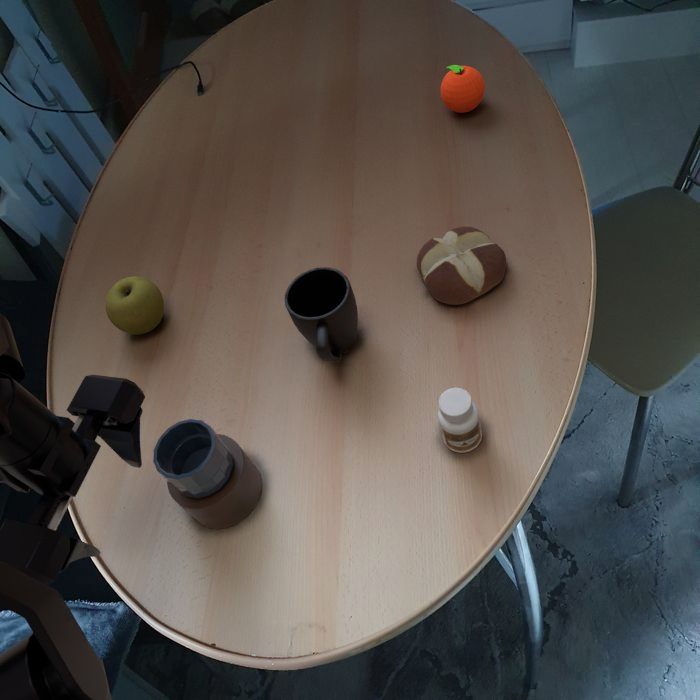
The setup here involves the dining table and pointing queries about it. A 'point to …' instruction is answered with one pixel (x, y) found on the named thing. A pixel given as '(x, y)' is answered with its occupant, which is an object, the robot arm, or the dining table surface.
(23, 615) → the robot arm
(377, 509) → the dining table surface
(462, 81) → the clementine
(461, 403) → the pill bottle
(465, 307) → the dining table surface
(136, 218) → the dining table surface
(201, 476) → the blue cup
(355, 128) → the dining table surface
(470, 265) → the bread
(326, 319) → the mug
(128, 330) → the apple
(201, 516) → the stand
